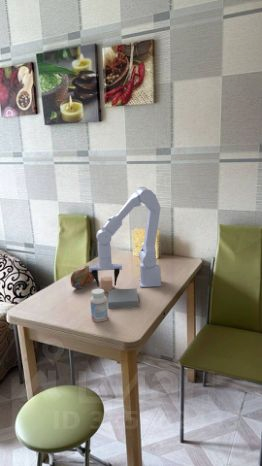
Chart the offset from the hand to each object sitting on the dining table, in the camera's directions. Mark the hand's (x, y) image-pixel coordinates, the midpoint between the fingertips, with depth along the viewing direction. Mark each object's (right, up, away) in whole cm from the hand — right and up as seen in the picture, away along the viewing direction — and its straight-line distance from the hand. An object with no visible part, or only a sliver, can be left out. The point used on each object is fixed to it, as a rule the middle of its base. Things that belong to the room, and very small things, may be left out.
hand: (106, 285), depth 159 cm
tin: (-11, -1, +6) cm, 13 cm away
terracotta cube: (0, -2, 0) cm, 2 cm away
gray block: (+8, -5, -12) cm, 15 cm away
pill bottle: (-1, -9, -26) cm, 27 cm away
